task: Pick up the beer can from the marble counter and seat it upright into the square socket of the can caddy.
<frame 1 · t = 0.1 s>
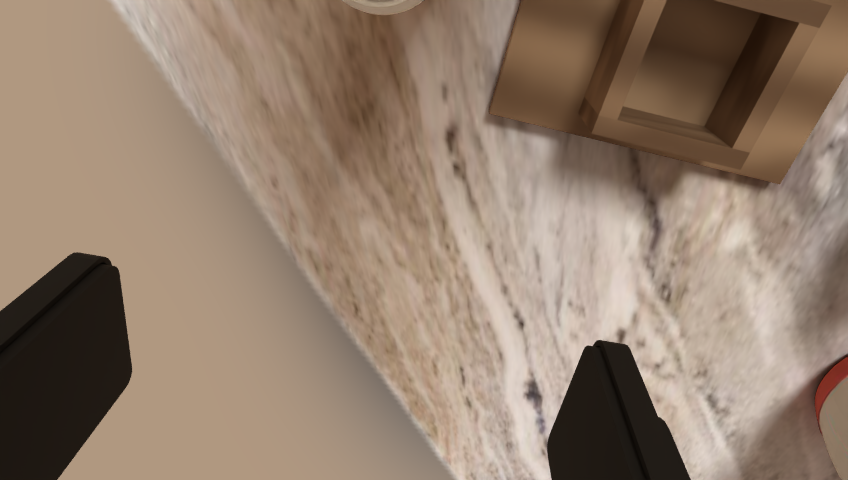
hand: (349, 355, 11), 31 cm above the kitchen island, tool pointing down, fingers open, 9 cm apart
can caddy: (672, 55, 37), on the kitchen island
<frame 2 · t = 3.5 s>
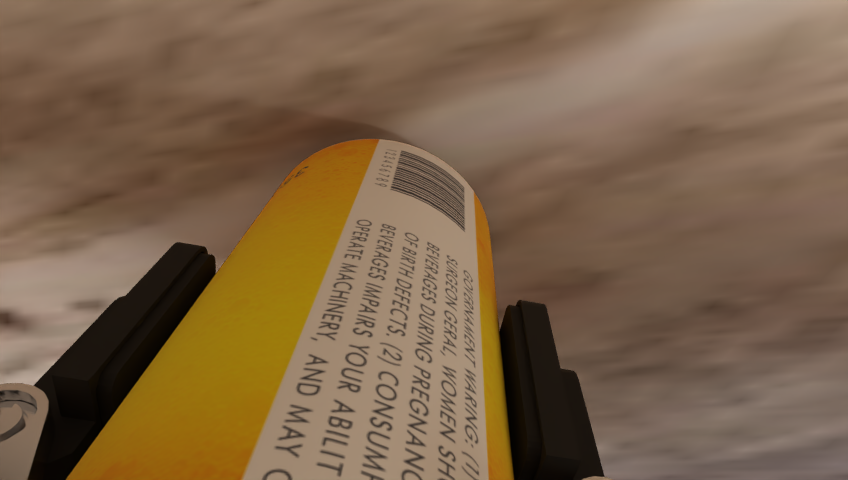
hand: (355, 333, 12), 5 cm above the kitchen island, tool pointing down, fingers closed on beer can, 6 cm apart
beer can: (383, 228, 16), on the kitchen island, touching gripper
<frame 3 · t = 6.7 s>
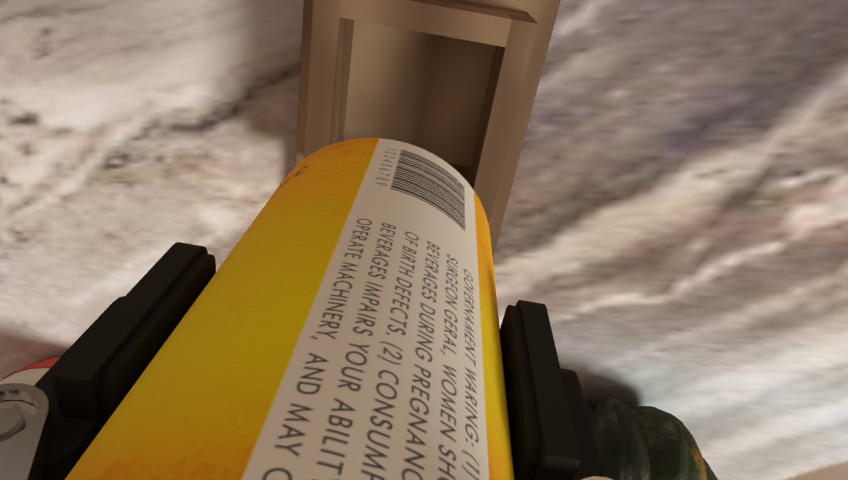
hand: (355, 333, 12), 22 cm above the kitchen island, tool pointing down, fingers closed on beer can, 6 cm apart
citrus juicer: (89, 397, 45), on the kitchen island
beer can: (383, 227, 16), point 18 cm above the kitchen island, touching gripper
squash: (588, 435, 44), on the kitchen island
can caddy: (417, 87, 31), on the kitchen island
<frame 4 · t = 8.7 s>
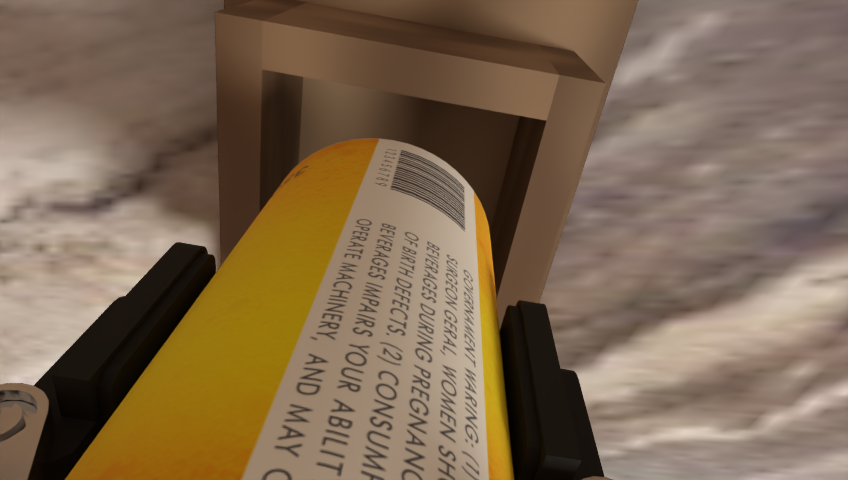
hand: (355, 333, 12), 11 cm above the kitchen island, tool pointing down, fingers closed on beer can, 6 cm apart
beer can: (383, 227, 16), point 6 cm above the kitchen island, touching gripper
can caddy: (404, 156, 21), on the kitchen island
when the fingers open (8 cm above the kitchen island, at t = 10.2 s): beer can drops 2 cm, resting on can caddy.
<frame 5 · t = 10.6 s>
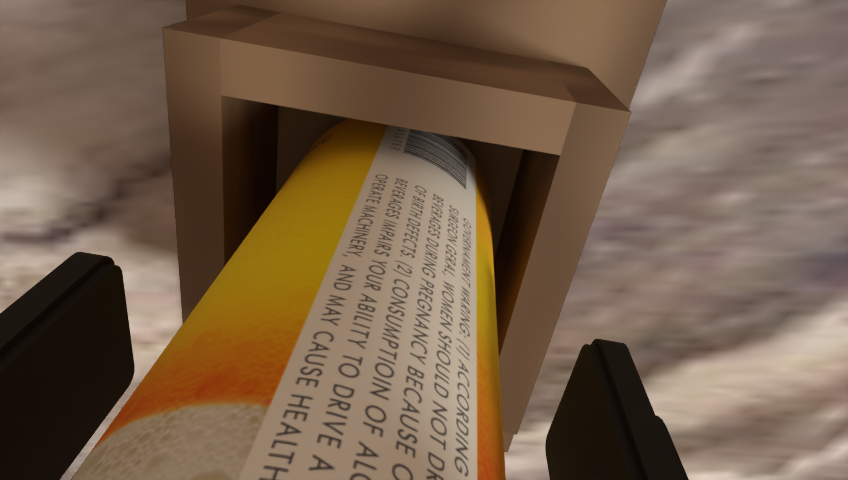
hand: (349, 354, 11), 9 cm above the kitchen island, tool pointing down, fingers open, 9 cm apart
beer can: (396, 193, 18), point 1 cm above the kitchen island, touching can caddy
can caddy: (395, 183, 19), on the kitchen island
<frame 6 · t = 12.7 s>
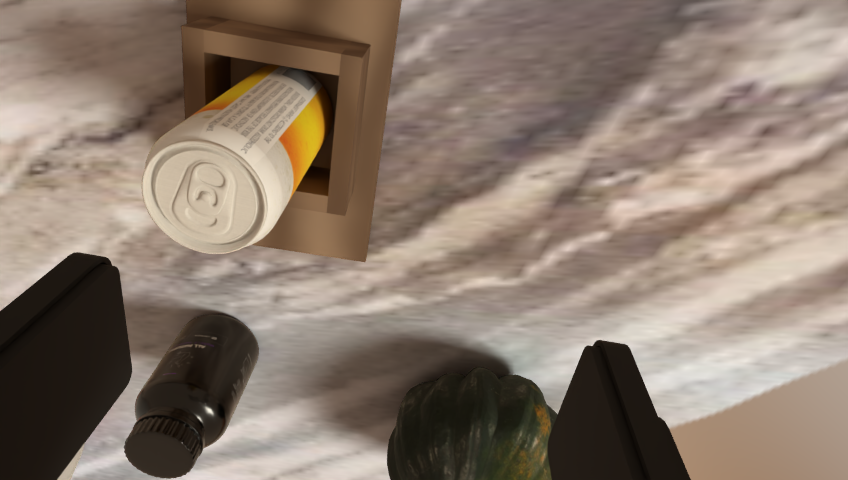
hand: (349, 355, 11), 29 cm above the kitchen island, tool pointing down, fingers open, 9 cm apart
beer can: (290, 107, 37), point 1 cm above the kitchen island, touching can caddy
squash: (471, 403, 51), on the kitchen island
can caddy: (291, 104, 37), on the kitchen island
supplement bottle: (222, 341, 48), on the kitchen island
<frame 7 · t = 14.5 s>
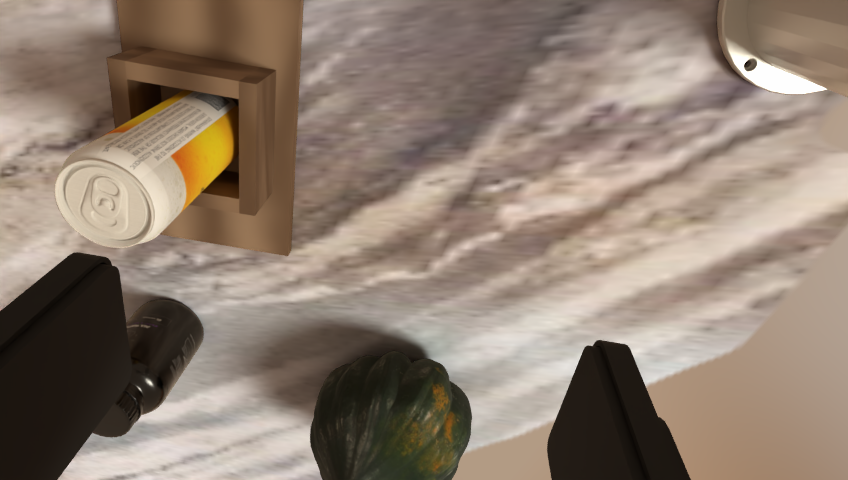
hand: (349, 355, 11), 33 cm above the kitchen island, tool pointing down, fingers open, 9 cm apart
beer can: (213, 122, 43), point 1 cm above the kitchen island, touching can caddy
squash: (395, 384, 57), on the kitchen island
can caddy: (216, 119, 44), on the kitchen island
supplement bottle: (172, 323, 54), on the kitchen island
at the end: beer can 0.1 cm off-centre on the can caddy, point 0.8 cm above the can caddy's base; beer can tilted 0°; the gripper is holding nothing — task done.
